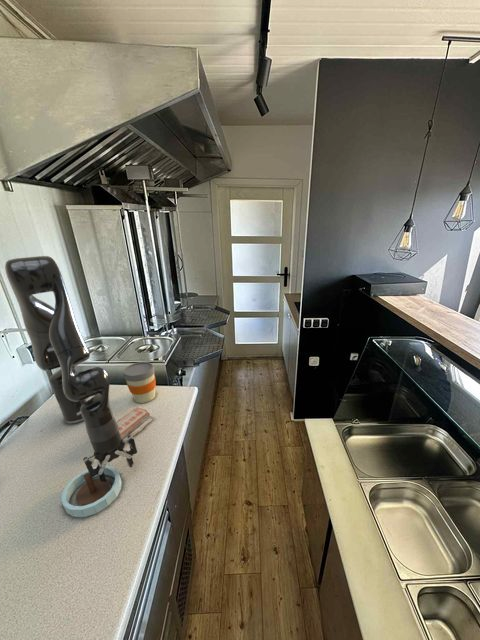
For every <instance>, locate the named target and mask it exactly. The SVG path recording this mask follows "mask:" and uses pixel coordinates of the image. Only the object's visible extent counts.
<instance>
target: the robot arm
mask: <svg viewBox="0 0 480 640" xmlns="http://www.w3.org/2000/svg"><path fill="white" fill-rule="evenodd" d="M4 267H5V268H4V270H5V274H6V278H7V280H8V282H9V285H10V287H11V289H12V290H11V291H12V292H13V294H14V297H15V299H16V301H17V303H18V306H19V309H20V313H21V317H22V321H23V324H24V327H25V330H26V333H27V335H28V338H29V341H30V343H31V347H32V354H33V359H34V362H35V364H36V365H37V368H39V369H40V370H42V371H44V372H48V371H52V370H55V369H58V370H57V371H56V372H54V373H53V374H52V375H50V377H49V379H48V382H49V385H50V387H51V389H52V392H53V394H54V397H55V399H56V402H57V404H58V407H59V409H60V412H61V414H62V417H63V421H64V422H65V423H66V424H68V425H74V424H78V423H81V422H84V425H85V430H86V434H87V436H88V439H89V441H90V444H91V447H92V449H93V455H90V456H89V457H88V456H85V457H83V458H82V459H83V462H84V465H85V467H86V470H87V469H88V471H89V473H90V475H91V477H93V478H95V477H94V476H95V475H98V476H97V477H98V478H100V480H101V481H102V482H103V481H104V482H106V481H107V480H108V479H107V477H106V475H105V474H104V472H103V471H104V468H105V467H106V466H108V463H110V462H112V461H114V460H116V459H118V458H119V457H122V458H125V460H126V463H127V466H128V467H129V468H130V469H131V468H133V465H134V463H135V462H134V460H133V456H134V455H136V454H137V453H138V448H137V445H136V441H135V439H134V438H133V437H134V436H133V437H132V436H131V435H129V436H128V437H127V439H125V440H122V439H121V436H120V432H119V429H118V425H117V423H116V422H117V421H116V419H115V417H114V415H113V414H114V413H113V411H112V408H111V404H110V385H111V384H110V383H111V382H110V376H109V374H108V372H107V371H106V370H105V369H104V368H103V367H100V366H94V367H91V368H90V367H89V368H87V369H85V370H81V371H78V372H77V369H76V367H78V366H79V365H80V364H83V363H84V362H86V361H87V360H89V359H90V356H91V354H90V351H89V349H88V347H87V344H86V342H85V340H84V337H83V335H82V333H81V331H80V328H79V326H78V323H77V320H76V316H75V313H74V310H73V309H74V308H73V305H72V303H71V299H70V296H69V293H68V290H67V287H66V283H65V281H64V278H63V275H62V272H61V270H60V268H59V266H58V264H57V262H56V261H55V259H54V258H52V257H51V256H49V255H39V256H28V257H26V256H25V257H17V258H16V257H15V258H11V259H8V260H6V261H5V265H4ZM44 293H53V296H54V302H55V303H54V307H53V306H52V305H50V304H48V303H47V302H45V301H43V300H41V299H39V298H37V297H36V296H34V295H38V294H44ZM88 398H90V399H88ZM87 399H88V400H87ZM125 445H127V446H129V450H126V449H125ZM95 460H96V461H97V464H96V466H97V467H96V466H95V467H96V469H93V467H94V466H93V465H94V461H95Z"/></svg>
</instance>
